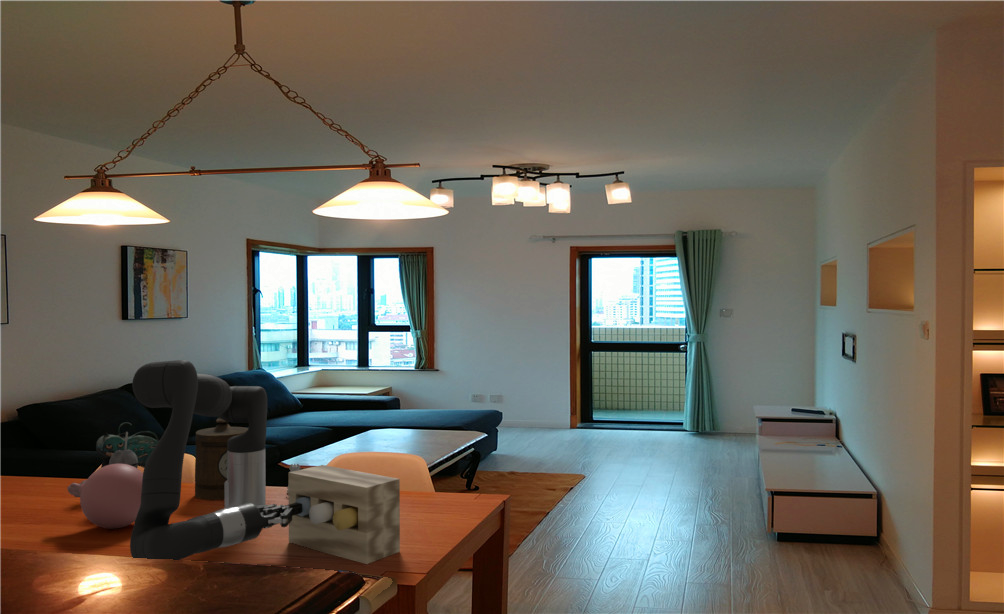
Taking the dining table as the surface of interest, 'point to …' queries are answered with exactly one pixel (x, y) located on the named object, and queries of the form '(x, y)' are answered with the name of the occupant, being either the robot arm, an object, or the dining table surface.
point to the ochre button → (346, 518)
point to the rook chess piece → (293, 468)
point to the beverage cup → (124, 456)
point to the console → (346, 490)
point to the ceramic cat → (134, 443)
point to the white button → (322, 512)
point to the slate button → (304, 505)
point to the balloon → (110, 495)
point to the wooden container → (213, 459)
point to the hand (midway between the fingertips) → (300, 507)
